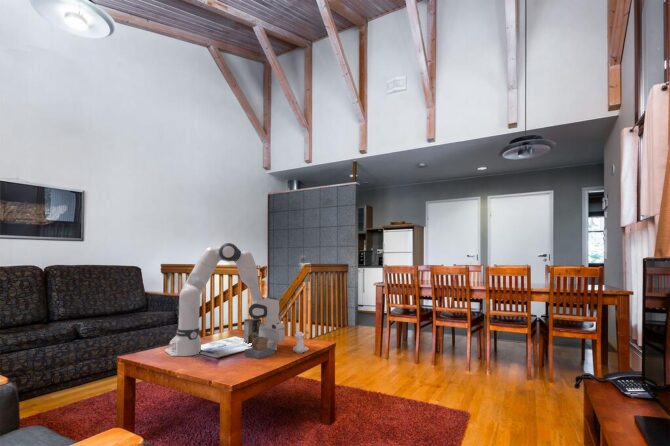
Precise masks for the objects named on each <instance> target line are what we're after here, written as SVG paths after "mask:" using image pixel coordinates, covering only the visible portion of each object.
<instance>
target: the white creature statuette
mask: <svg viewBox="0 0 670 446" xmlns="http://www.w3.org/2000/svg"><path fill="white" fill-rule="evenodd" d="M304 335H305V334H304V333H303V332H302V331H297V332H296V333H295V334H294V337H295V339H297V340H296V343H295V346H293V348H292V351H293V352H294V353H296V354H303V352H304V353H307V352H308V351H309V348H310V347H308V346H305V341H304V337H305V336H304Z"/></svg>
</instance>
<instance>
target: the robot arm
mask: <svg viewBox="0 0 670 446" xmlns="http://www.w3.org/2000/svg"><path fill="white" fill-rule="evenodd" d="M221 261H224V262H234V263H235V265H236V268H237V272H238V275H239V278H240V279H241V282H242V283H243V284H245V286H247V287H248V289H249V293H250V296H251V300H252V304H251V305H250V306H249V308H248V315H249V316H250V318H251V319H252V318H254V319H263V318H264V320H263V321H264V322H263V321H261V324H260V328H259V337H265V338H267V341H270V340H272V341H274V345H273V348H276V345H277V346H278V343H283V342H284V341H285V339H286V338H285V337H286V334H285V333H286V332H285V327H286V326H285V324H284V323H283V322H282V321H280V317H279V315H280V314H279V313H280V302H279V299H278V298H277V297H275V296H266V297H265V298H263V296H262V292H261V288H260V285H259V276H258V275H259V274H258V270H257V265H256V260H255V259H254V256H253V254H252V252H251V251H248V250H242V251H241V250H240V249H239V248H238V247H237V245H235V244H234V243H231V242H227V243H223V244H222V245H221V246H220V247H219V248H216V247H213V246H209V247H206V248H205V249H204V250H203V252H202V253H201V255H200V256H199V258H198V260H197V261H196V263H195V264H194V267H193V269H192V270H191V272H190V273H189V276H188V277H187V280H185V282H184V284H183V285H182V288H181V290H180V292H179V299H178V301H179V303H178V304H179V305H178V326H177V327H178V328H177V329H176V333H175V336H174V337H173V338H172V339H171V340H170V341H169V343H168V348H165V349H164V352H165V353H167V354H168V355H169V356H171V357H190V356H195V355H198V354H200V353H201V352H200V350H201V348H202V339H201V336H200V306H201V304H200V303H201V294H202V292H203V290H204V289H205V287H206V285H207V284H208V282H209V281H210V279H211V277H212V274H213V273H214V271H215V269H216V268H217V266H218V264H219V262H221ZM199 352H200V353H199Z"/></svg>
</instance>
